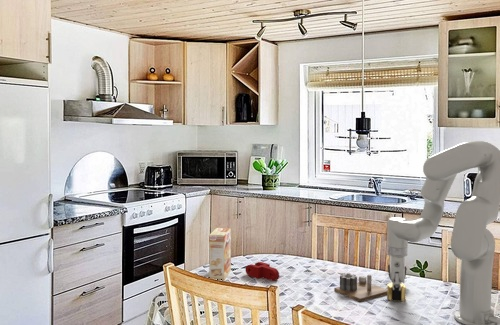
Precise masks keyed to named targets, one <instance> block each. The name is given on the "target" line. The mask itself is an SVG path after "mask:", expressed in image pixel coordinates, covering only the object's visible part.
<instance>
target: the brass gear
mask: <svg viewBox="0 0 500 325" xmlns="http://www.w3.org/2000/svg"><path fill="white" fill-rule="evenodd" d="M386 285H387V288H386V289H387V294H386V296H387V297H386V298H387V299H388V300H389V301H393V300H392V289H393V283H392V282H389V283H388V284H386ZM394 285H395V283H394ZM406 291H407V287H406V285H405V284H404V283H402V284H401V301H400V302H405V301H406V299H407V298H406V294H407V293H406ZM395 302H399V301H395Z"/></svg>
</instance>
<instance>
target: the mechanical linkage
mask: <svg viewBox="0 0 500 325" xmlns="http://www.w3.org/2000/svg"><path fill="white" fill-rule="evenodd" d="M245 273H246V275H247V276H250V277H251V278H255V279H257V280H258V279H262V278H263V279H266V280H269V281H271V282H274V281H277V280H279V278H280V272H279V270H278V269H277V268H276V267H273V266H271V264H270V263H266V262H262V261H258V262H255V263H254V264H253V263H252V264H251V263H250V264H247V265H246V266H245Z"/></svg>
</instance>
